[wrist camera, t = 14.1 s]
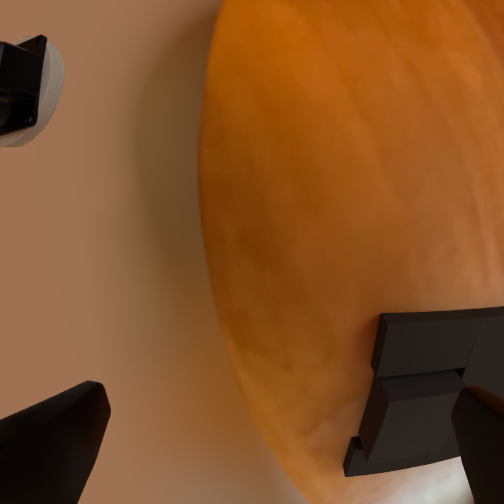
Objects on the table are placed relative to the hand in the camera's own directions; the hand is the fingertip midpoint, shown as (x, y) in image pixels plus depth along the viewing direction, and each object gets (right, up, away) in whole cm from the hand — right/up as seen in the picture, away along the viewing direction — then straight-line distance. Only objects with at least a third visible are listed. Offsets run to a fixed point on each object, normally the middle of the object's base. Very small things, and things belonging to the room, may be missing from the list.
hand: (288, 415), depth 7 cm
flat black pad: (+17, -8, +13) cm, 23 cm away
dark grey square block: (+11, -7, +14) cm, 19 cm away
